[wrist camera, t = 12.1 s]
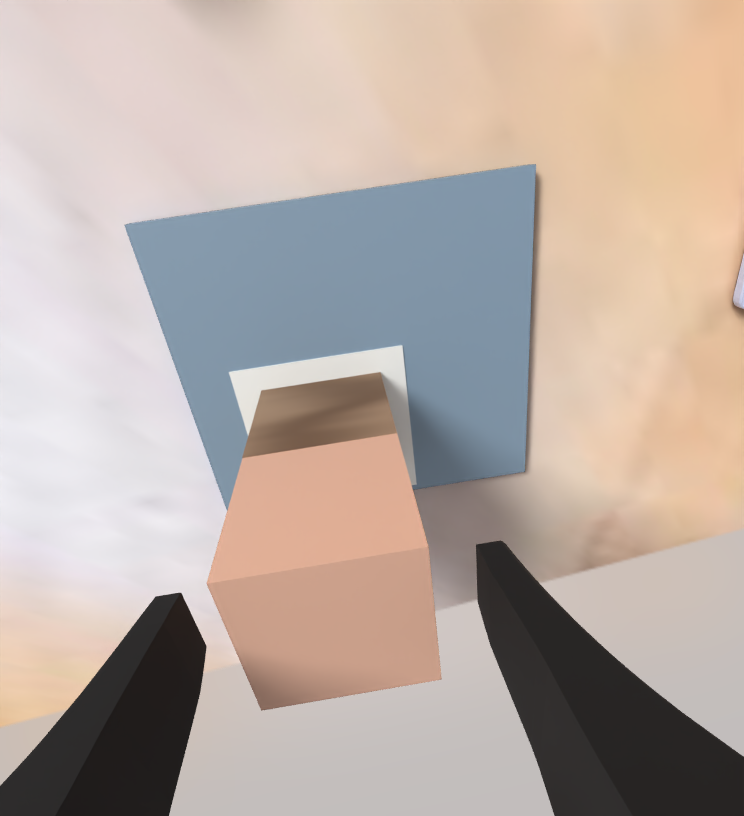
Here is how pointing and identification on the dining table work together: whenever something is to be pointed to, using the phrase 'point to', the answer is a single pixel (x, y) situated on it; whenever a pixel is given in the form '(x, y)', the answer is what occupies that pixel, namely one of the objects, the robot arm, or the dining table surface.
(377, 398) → the walnut block
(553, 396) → the dining table surface
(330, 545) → the terracotta block
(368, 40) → the dining table surface
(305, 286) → the plate
